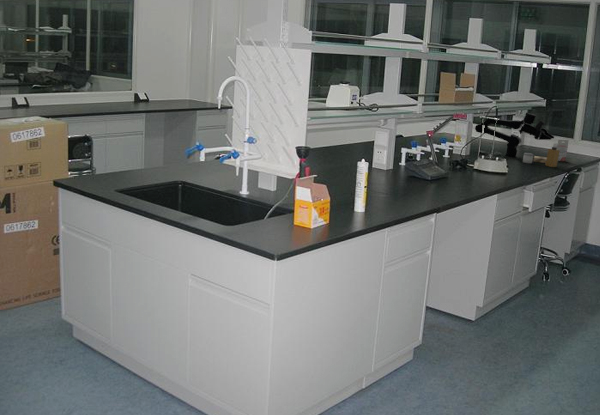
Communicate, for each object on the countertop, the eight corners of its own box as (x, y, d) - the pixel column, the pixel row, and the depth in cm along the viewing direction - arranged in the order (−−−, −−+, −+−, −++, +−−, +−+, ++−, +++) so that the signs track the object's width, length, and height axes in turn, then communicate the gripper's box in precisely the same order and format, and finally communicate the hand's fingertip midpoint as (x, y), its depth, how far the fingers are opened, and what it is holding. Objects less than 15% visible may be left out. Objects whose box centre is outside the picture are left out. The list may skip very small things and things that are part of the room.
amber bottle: (545, 165, 456) (548, 146, 453) (550, 165, 459) (553, 146, 455) (551, 167, 452) (555, 148, 449) (556, 166, 455) (560, 148, 452)
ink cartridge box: (560, 159, 486) (564, 139, 482) (565, 161, 481) (569, 140, 477) (550, 159, 483) (554, 138, 480) (554, 160, 479) (558, 139, 475)
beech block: (533, 162, 468) (533, 157, 467) (533, 160, 476) (534, 155, 475) (547, 164, 465) (547, 159, 464) (547, 162, 473) (548, 157, 472)
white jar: (522, 162, 459) (523, 153, 458) (522, 161, 465) (524, 152, 463) (531, 163, 457) (533, 154, 456) (532, 162, 463) (533, 153, 461)
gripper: (532, 119, 461) (554, 128, 454) (538, 117, 477) (560, 126, 470) (525, 135, 465) (548, 143, 458) (531, 133, 480) (553, 141, 474)
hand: (552, 138), depth 465 cm, fingers open, 9 cm apart
